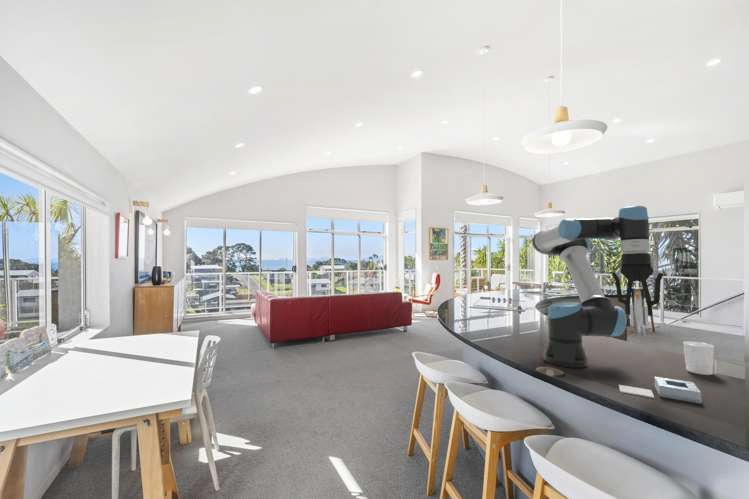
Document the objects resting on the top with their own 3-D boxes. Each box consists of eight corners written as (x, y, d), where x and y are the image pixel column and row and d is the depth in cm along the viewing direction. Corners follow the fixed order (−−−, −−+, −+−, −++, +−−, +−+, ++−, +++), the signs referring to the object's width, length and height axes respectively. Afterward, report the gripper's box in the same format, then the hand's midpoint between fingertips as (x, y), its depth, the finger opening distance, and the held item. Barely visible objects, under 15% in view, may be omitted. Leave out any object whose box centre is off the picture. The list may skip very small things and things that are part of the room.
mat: (620, 392, 100) (620, 390, 100) (618, 385, 105) (618, 384, 105) (654, 398, 96) (654, 396, 96) (651, 391, 101) (651, 390, 101)
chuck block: (659, 396, 97) (659, 385, 97) (654, 386, 104) (654, 376, 104) (701, 403, 92) (701, 392, 92) (693, 392, 99) (693, 382, 99)
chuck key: (634, 335, 104) (631, 288, 105) (633, 333, 109) (630, 287, 110) (646, 336, 102) (643, 288, 103) (645, 333, 107) (642, 288, 108)
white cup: (717, 377, 112) (716, 348, 112) (685, 372, 117) (685, 344, 117) (712, 371, 118) (711, 343, 119) (682, 366, 123) (681, 340, 123)
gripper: (605, 253, 109) (608, 324, 107) (669, 251, 100) (674, 329, 98) (605, 254, 115) (609, 321, 113) (666, 252, 106) (670, 326, 104)
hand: (639, 325), depth 106 cm, fingers closed on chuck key, 3 cm apart
